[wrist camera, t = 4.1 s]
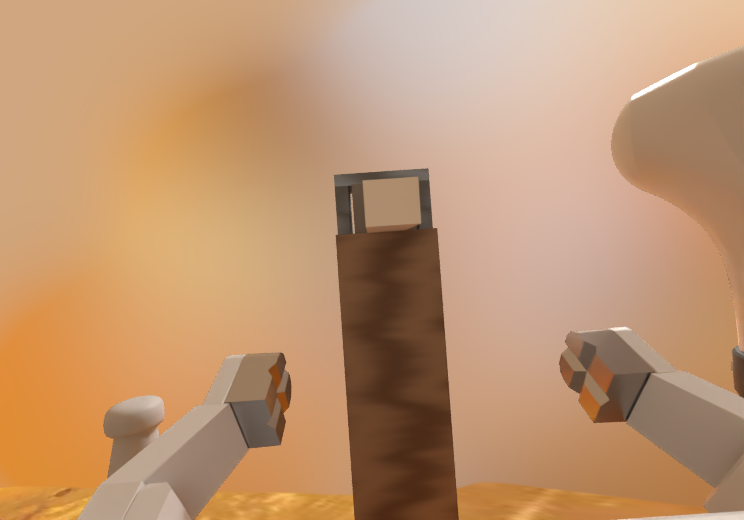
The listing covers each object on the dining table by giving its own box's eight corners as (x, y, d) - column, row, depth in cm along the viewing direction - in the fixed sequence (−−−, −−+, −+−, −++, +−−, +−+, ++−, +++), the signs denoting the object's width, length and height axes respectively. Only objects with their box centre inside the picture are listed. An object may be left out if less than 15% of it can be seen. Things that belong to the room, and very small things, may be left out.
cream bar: (410, 231, 30) (408, 188, 30) (439, 222, 17) (435, 147, 17) (357, 235, 30) (354, 192, 30) (347, 228, 17) (341, 153, 17)
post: (447, 515, 30) (422, 178, 30) (461, 564, 25) (432, 161, 26) (360, 521, 30) (337, 184, 30) (358, 571, 25) (331, 168, 26)
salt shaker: (84, 596, 24) (75, 423, 25) (113, 539, 30) (106, 396, 30) (173, 565, 26) (165, 406, 27) (185, 516, 32) (178, 384, 32)
